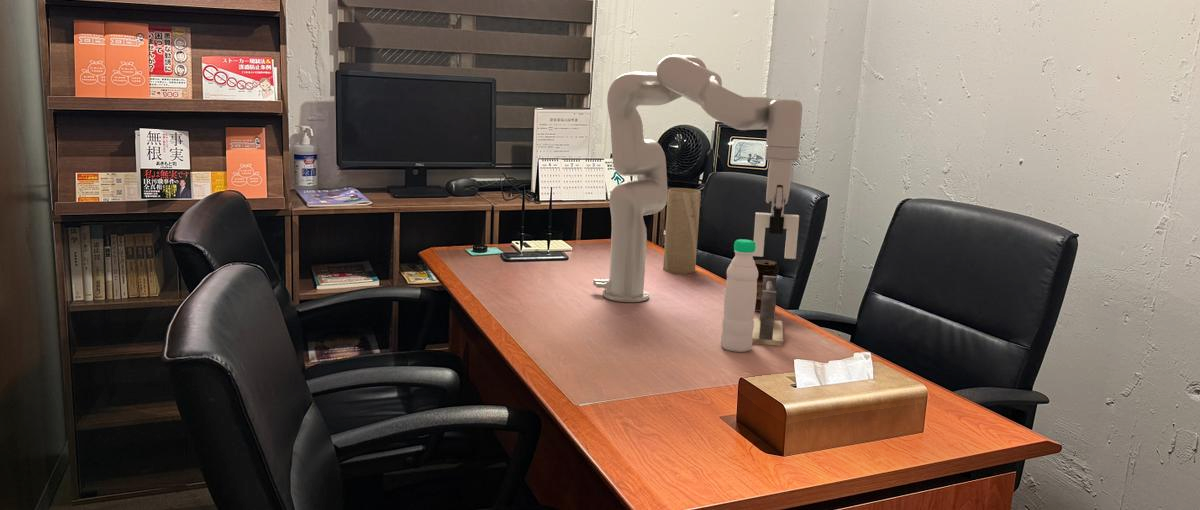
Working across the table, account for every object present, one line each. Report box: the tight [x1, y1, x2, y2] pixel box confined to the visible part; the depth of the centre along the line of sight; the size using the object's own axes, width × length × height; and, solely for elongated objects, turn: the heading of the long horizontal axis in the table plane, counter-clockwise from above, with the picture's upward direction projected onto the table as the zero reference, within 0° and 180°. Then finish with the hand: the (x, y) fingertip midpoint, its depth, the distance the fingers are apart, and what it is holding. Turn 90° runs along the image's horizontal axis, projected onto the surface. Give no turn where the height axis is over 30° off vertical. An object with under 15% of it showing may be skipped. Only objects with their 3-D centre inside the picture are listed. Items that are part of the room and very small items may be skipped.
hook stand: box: [752, 275, 784, 347], centre depth 210 cm, size 8×17×12 cm, turn 170°
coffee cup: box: [754, 259, 780, 312], centre depth 231 cm, size 9×8×13 cm
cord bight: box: [753, 211, 800, 260], centre depth 206 cm, size 10×3×10 cm, turn 80°
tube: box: [662, 187, 702, 275], centre depth 271 cm, size 10×10×25 cm
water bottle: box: [720, 238, 758, 353], centre depth 197 cm, size 7×7×25 cm
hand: (775, 231), depth 206 cm, fingers closed on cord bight, 2 cm apart
